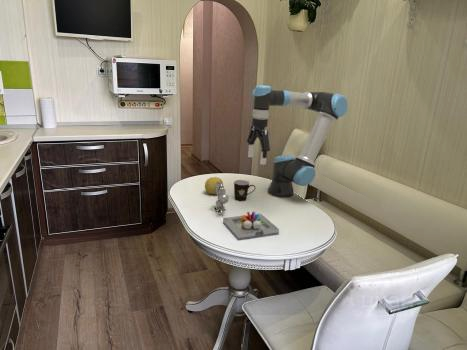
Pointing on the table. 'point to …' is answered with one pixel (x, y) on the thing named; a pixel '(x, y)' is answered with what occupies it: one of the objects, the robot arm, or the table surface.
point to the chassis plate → (244, 233)
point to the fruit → (212, 185)
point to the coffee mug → (241, 189)
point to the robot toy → (221, 196)
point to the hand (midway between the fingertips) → (256, 160)
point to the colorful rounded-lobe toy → (251, 220)
